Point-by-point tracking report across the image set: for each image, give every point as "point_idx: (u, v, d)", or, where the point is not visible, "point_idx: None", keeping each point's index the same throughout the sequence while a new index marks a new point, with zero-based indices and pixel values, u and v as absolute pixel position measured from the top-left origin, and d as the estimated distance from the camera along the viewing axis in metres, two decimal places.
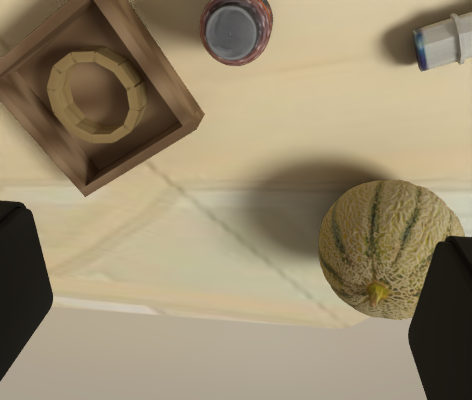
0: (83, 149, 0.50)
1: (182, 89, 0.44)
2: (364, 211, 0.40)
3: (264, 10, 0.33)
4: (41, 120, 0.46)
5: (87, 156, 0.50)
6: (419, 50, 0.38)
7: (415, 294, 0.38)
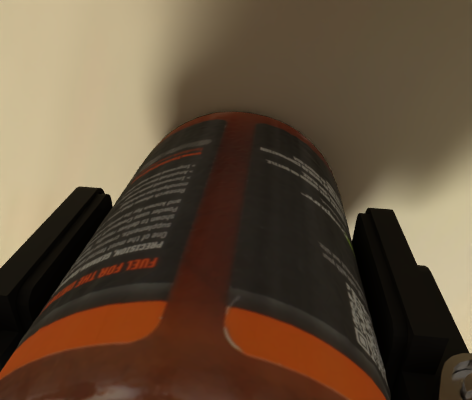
0: None
1: None
2: None
3: None
4: None
5: None
6: None
7: None
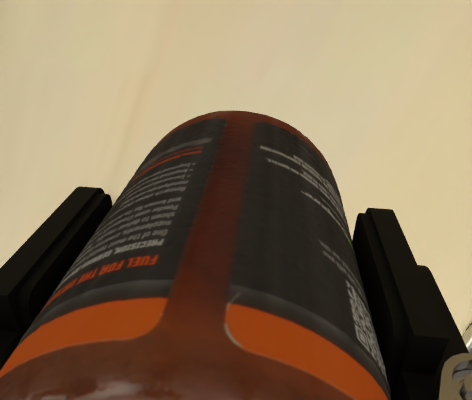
0: None
1: None
2: None
3: None
4: None
5: None
6: None
7: None
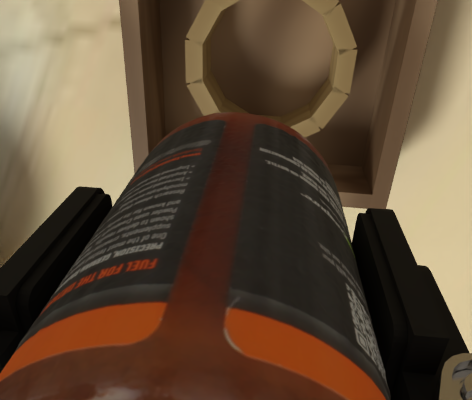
0: None
1: None
2: None
3: None
4: None
5: None
6: None
7: None
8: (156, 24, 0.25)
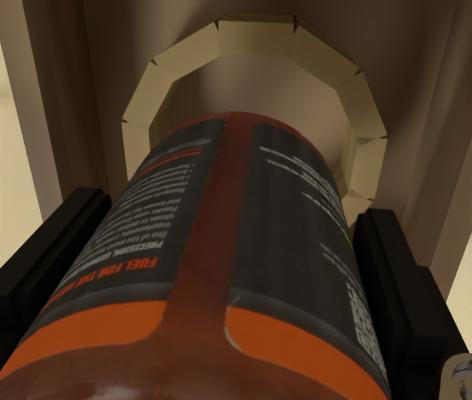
0: None
1: None
2: None
3: None
4: None
5: None
6: None
7: None
8: (85, 91, 0.17)
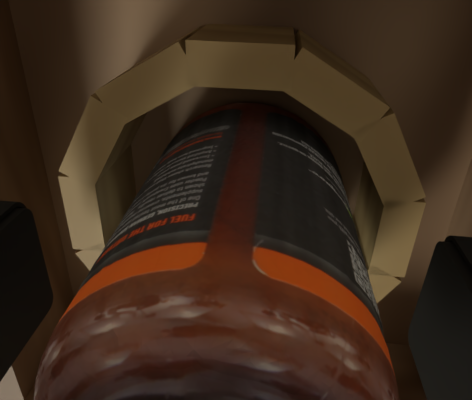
0: None
1: None
2: None
3: None
4: None
5: None
6: None
7: None
8: (19, 128, 0.13)
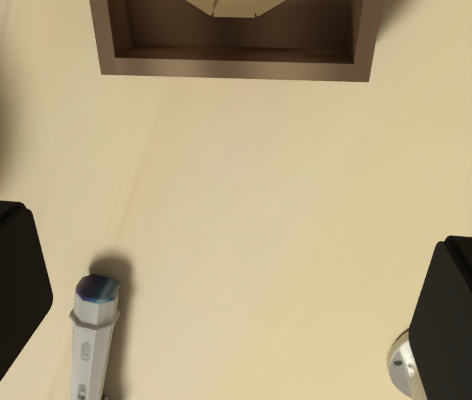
0: None
1: None
2: None
3: None
4: None
5: None
6: (96, 299, 0.38)
7: None
8: None
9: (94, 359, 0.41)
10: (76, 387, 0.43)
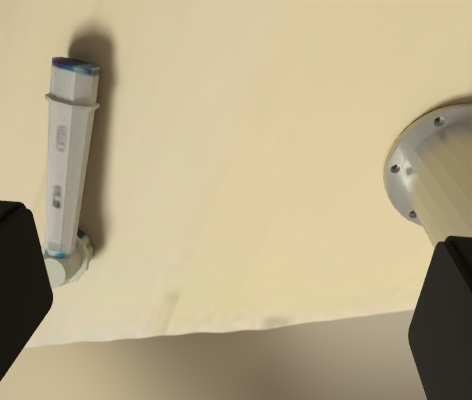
0: None
1: None
2: None
3: None
4: None
5: None
6: (72, 66, 0.35)
7: None
8: None
9: (70, 150, 0.38)
10: (51, 190, 0.40)
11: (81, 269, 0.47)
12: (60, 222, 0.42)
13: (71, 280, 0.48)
